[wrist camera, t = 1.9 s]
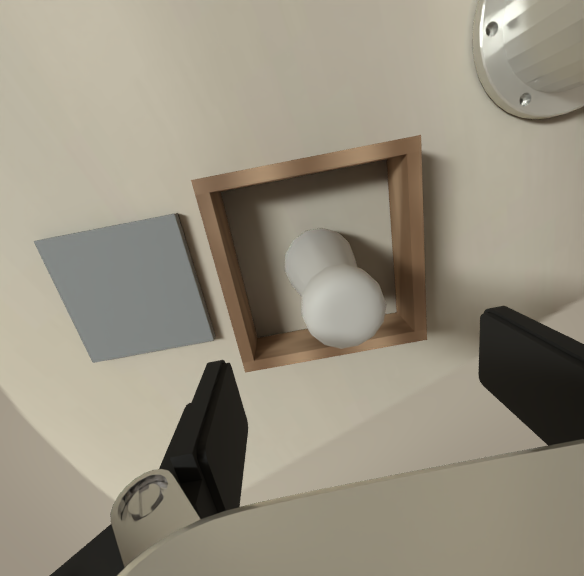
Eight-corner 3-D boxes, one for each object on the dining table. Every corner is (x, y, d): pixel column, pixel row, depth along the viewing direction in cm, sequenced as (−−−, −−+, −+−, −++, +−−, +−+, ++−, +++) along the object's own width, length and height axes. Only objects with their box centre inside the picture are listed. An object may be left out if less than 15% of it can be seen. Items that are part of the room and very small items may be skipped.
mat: (177, 213, 24) (174, 213, 24) (215, 336, 28) (213, 340, 27) (41, 239, 25) (33, 241, 24) (97, 358, 28) (92, 362, 28)
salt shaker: (355, 273, 27) (420, 344, 14) (299, 296, 27) (315, 385, 15) (334, 213, 25) (387, 237, 13) (273, 240, 25) (268, 288, 13)
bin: (397, 143, 23) (421, 134, 19) (407, 319, 28) (426, 339, 25) (205, 181, 24) (191, 180, 20) (249, 348, 29) (245, 372, 25)
